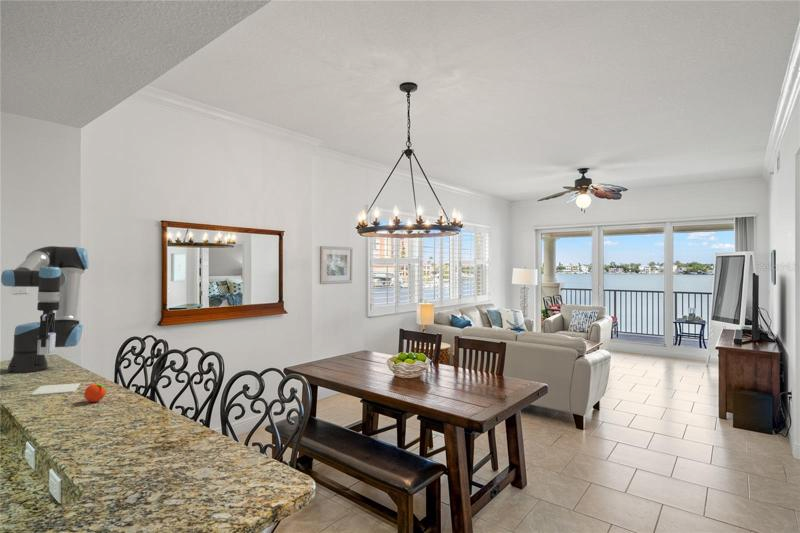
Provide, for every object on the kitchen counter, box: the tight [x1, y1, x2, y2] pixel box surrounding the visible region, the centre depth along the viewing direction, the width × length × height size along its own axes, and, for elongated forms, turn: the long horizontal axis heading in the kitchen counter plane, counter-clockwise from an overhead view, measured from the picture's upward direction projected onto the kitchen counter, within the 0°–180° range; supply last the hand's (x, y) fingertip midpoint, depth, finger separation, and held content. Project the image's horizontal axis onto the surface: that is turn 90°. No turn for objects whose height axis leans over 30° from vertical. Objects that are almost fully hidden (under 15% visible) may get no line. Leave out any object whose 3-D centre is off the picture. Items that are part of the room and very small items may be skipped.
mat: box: [30, 382, 81, 397], centre depth 181 cm, size 14×14×1 cm
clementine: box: [83, 383, 107, 403], centre depth 167 cm, size 8×7×7 cm
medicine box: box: [37, 333, 56, 356], centre depth 190 cm, size 8×4×9 cm, turn 25°
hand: (46, 352), depth 190 cm, fingers closed on medicine box, 8 cm apart
